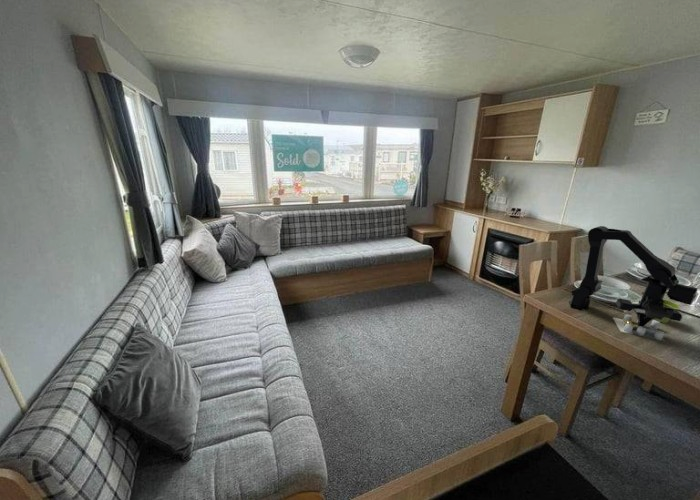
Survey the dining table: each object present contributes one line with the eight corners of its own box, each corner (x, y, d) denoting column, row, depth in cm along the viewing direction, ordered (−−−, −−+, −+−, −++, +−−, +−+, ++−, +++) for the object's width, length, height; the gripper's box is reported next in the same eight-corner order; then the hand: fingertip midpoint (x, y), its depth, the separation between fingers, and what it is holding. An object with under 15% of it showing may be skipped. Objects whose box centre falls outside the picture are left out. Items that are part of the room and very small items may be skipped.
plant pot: (663, 327, 125) (671, 310, 122) (637, 315, 134) (644, 299, 131) (677, 324, 128) (685, 307, 125) (651, 313, 136) (658, 296, 133)
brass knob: (625, 328, 123) (627, 322, 122) (622, 323, 126) (624, 318, 125) (637, 331, 121) (640, 325, 120) (634, 326, 125) (636, 321, 124)
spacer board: (620, 332, 121) (623, 325, 120) (611, 318, 131) (614, 311, 130) (667, 343, 115) (671, 336, 113) (655, 328, 125) (658, 320, 123)
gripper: (630, 296, 114) (617, 330, 119) (696, 309, 106) (679, 344, 111) (621, 285, 123) (609, 317, 129) (682, 296, 115) (666, 329, 121)
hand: (640, 326), depth 122 cm, fingers closed
